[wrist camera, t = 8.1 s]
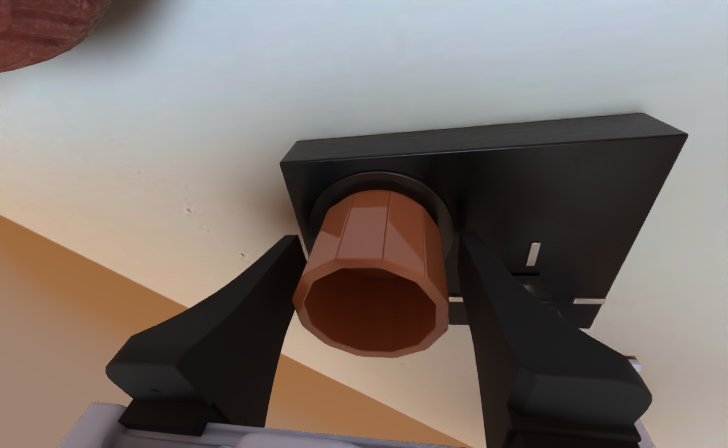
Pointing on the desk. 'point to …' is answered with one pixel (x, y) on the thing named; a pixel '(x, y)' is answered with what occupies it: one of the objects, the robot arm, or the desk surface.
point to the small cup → (375, 277)
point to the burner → (392, 183)
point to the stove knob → (538, 290)
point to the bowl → (44, 28)
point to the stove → (518, 193)
